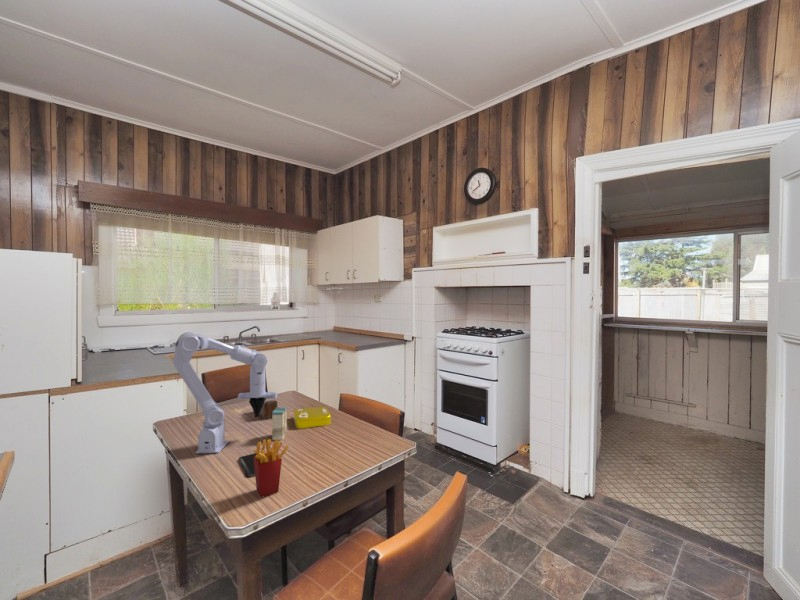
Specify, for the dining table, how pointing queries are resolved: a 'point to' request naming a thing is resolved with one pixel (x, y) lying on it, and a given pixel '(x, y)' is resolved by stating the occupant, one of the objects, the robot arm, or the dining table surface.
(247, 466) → the phone
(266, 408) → the food item
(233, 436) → the dining table surface
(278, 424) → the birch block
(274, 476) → the french fries
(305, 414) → the yellow flat box
